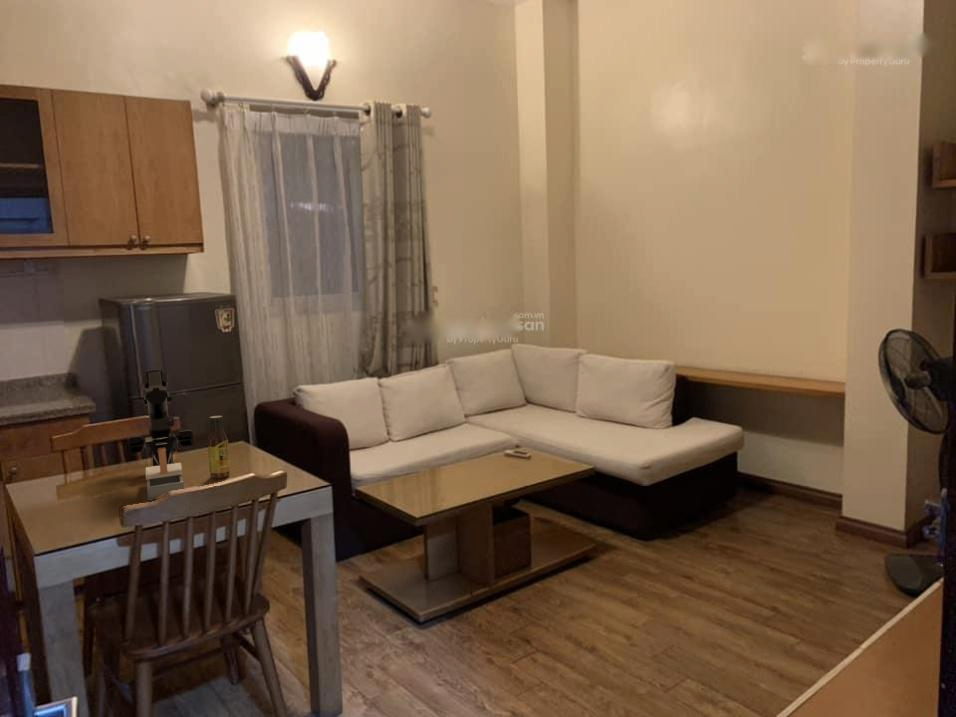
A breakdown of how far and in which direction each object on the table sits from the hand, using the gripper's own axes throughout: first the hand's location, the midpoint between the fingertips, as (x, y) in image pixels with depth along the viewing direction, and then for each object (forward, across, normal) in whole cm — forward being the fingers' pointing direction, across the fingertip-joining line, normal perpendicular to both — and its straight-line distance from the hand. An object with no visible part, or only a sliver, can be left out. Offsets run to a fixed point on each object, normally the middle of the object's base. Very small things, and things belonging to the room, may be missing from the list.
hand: (163, 464), depth 221 cm
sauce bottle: (+2, +17, +10) cm, 19 cm away
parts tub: (+8, 0, +3) cm, 9 cm away
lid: (-1, 0, +6) cm, 6 cm away
